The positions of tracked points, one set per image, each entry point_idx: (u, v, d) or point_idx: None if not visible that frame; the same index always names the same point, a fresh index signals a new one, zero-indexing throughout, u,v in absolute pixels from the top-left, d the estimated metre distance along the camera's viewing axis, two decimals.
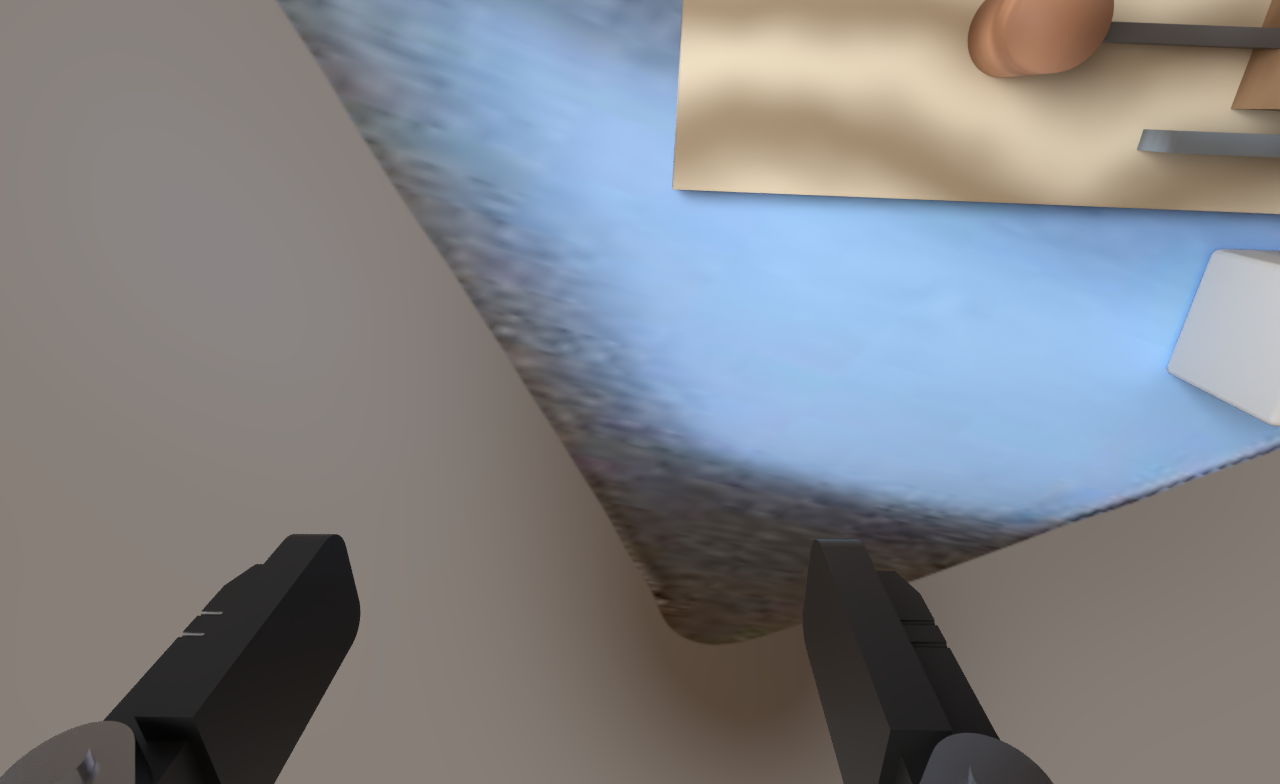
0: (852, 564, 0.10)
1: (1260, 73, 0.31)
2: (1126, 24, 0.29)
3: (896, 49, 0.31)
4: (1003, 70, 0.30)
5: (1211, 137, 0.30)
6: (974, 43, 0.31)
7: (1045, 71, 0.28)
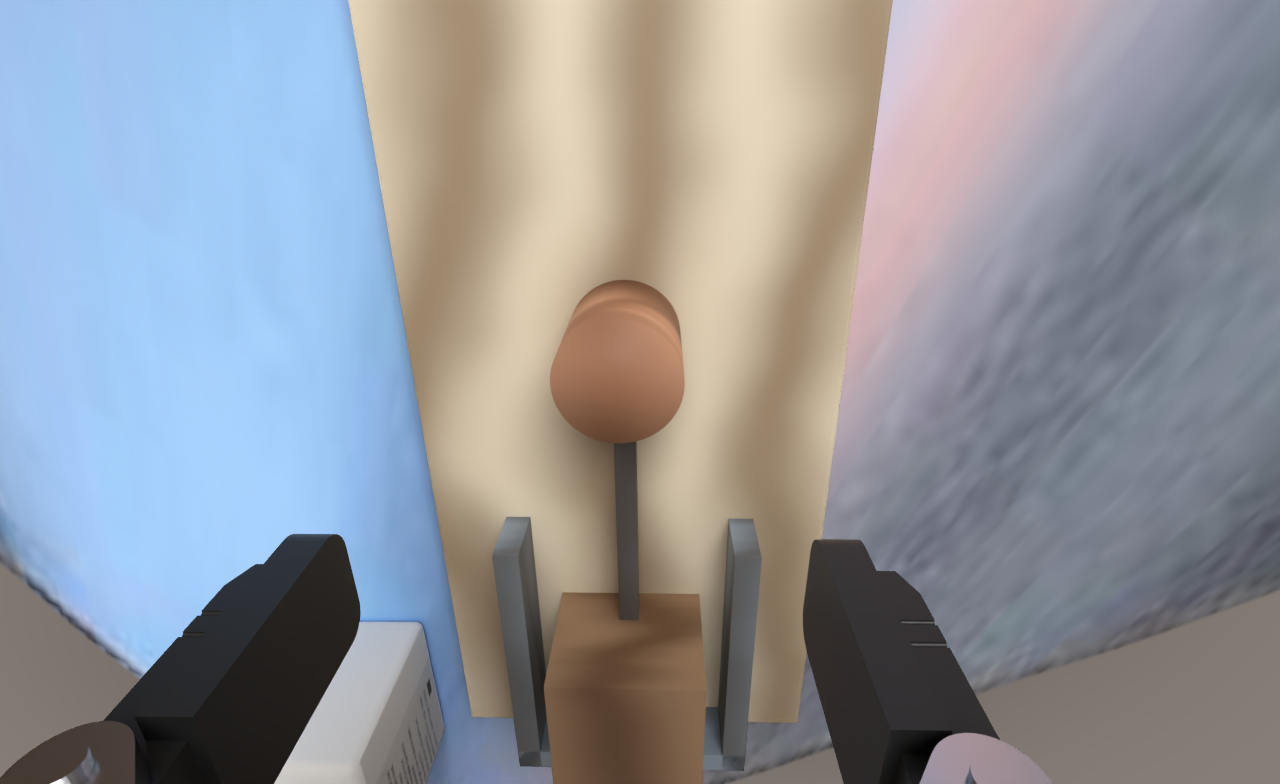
0: (852, 564, 0.10)
1: (595, 608, 0.27)
2: (633, 464, 0.23)
3: (592, 179, 0.21)
4: None
5: (515, 588, 0.25)
6: (604, 288, 0.21)
7: (551, 377, 0.19)
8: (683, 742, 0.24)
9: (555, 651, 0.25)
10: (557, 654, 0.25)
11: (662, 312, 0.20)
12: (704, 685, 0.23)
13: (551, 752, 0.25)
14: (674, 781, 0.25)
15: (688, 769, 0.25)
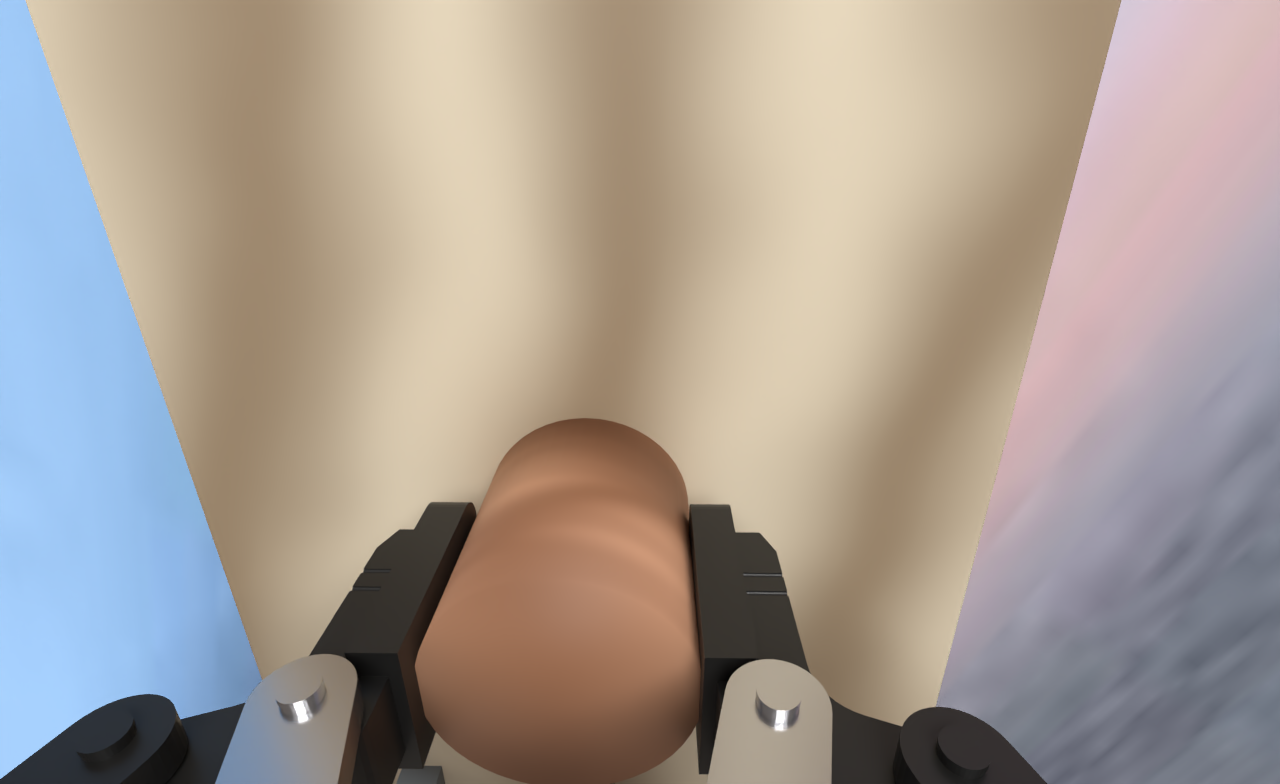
0: (714, 524, 0.10)
1: None
2: None
3: (520, 240, 0.11)
4: None
5: None
6: (547, 440, 0.11)
7: None
8: None
9: None
10: None
11: (656, 506, 0.10)
12: None
13: None
14: None
15: None
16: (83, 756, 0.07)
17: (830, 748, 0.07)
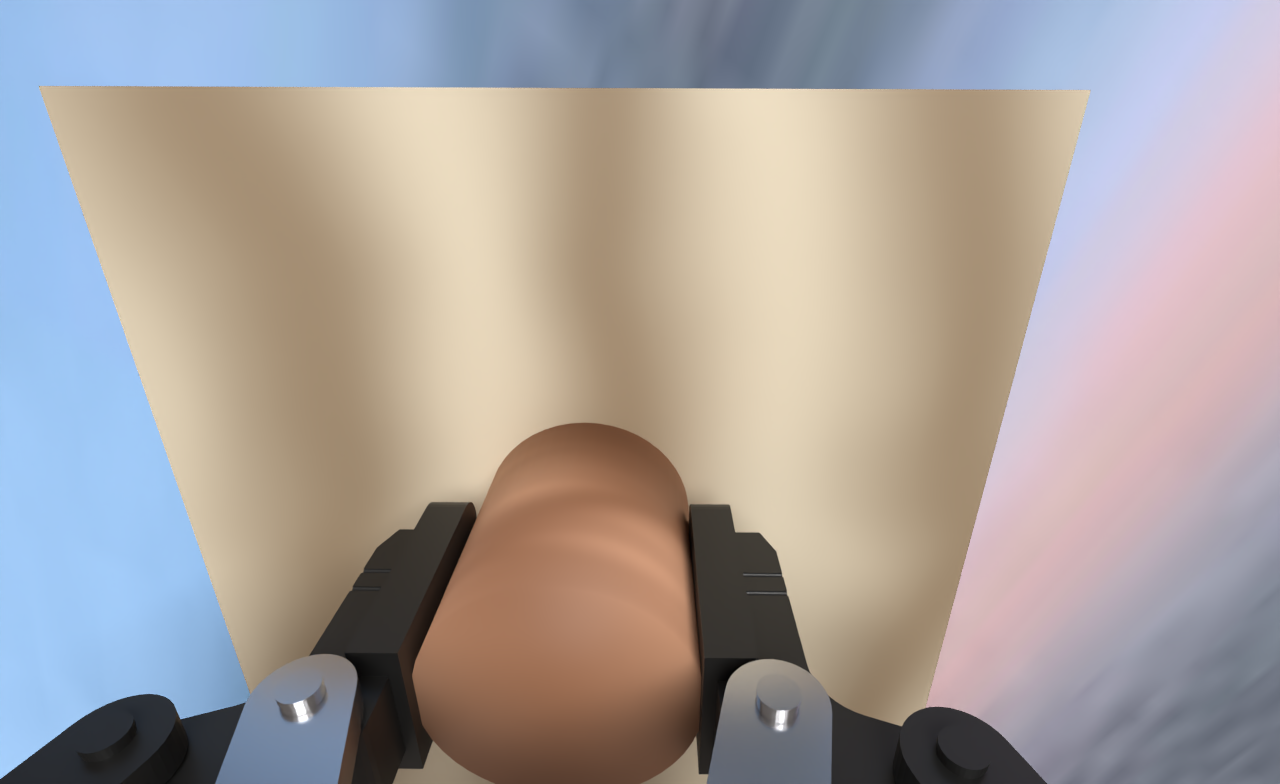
0: (714, 524, 0.10)
1: None
2: None
3: None
4: (467, 540, 0.11)
5: None
6: (545, 445, 0.11)
7: None
8: None
9: None
10: None
11: (655, 511, 0.10)
12: None
13: None
14: None
15: None
16: (83, 756, 0.07)
17: (830, 748, 0.07)
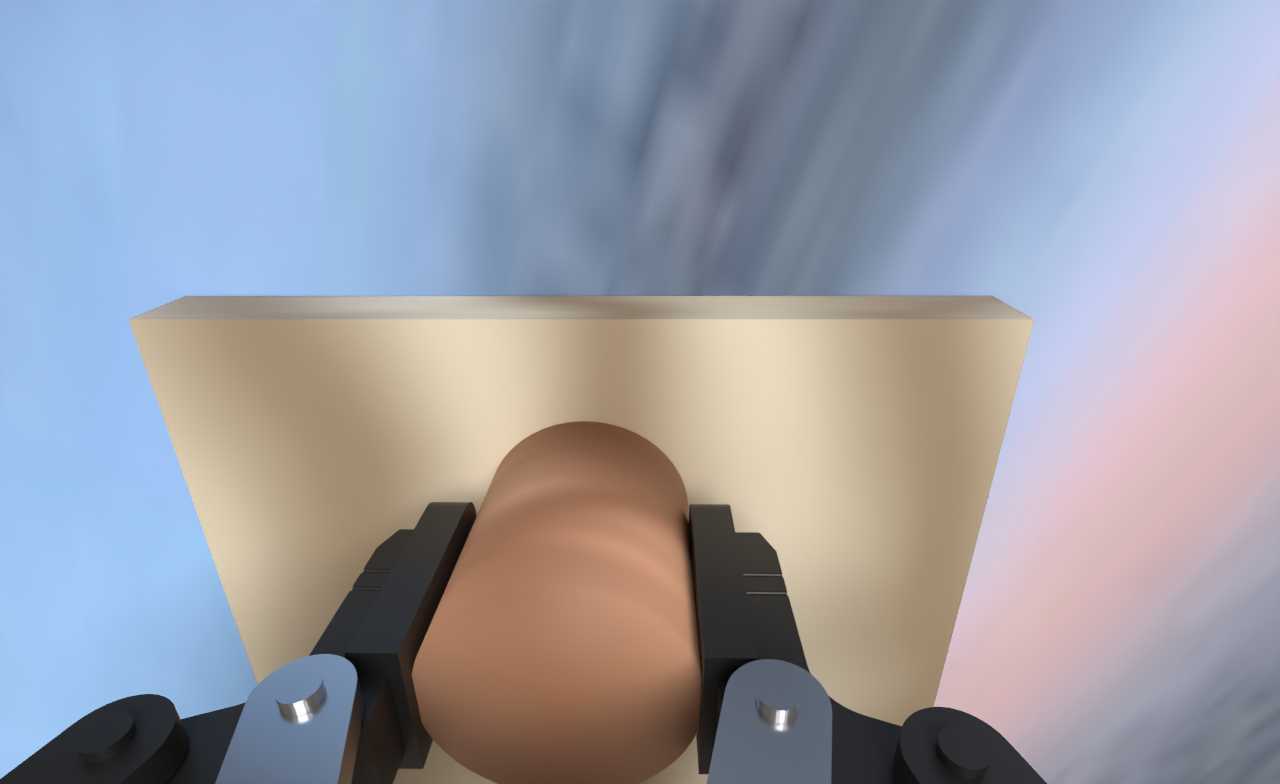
0: (714, 524, 0.10)
1: None
2: None
3: None
4: None
5: None
6: (544, 444, 0.11)
7: None
8: None
9: None
10: None
11: (655, 509, 0.10)
12: None
13: None
14: None
15: None
16: (83, 756, 0.07)
17: (830, 748, 0.07)
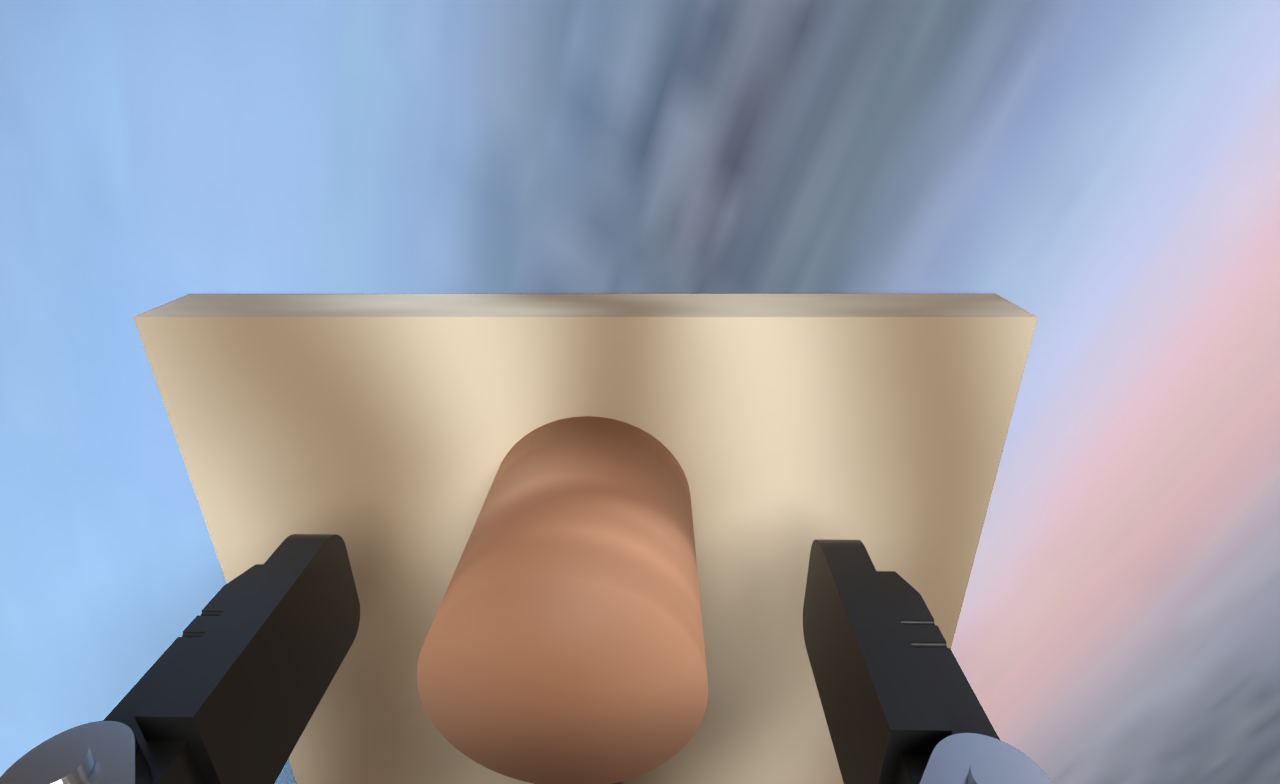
0: (852, 564, 0.10)
1: None
2: None
3: None
4: None
5: None
6: (547, 439, 0.11)
7: (419, 682, 0.09)
8: None
9: None
10: None
11: (657, 502, 0.10)
12: None
13: None
14: None
15: None
16: None
17: None
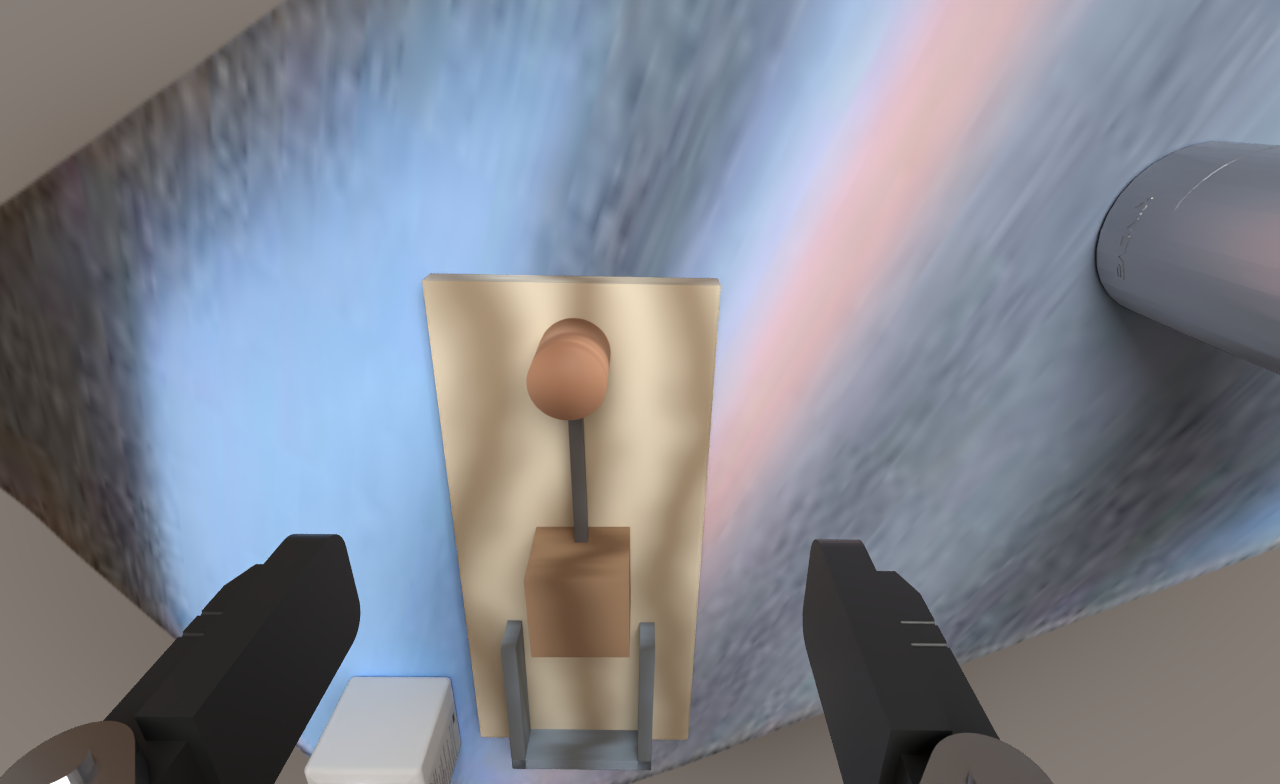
0: (852, 564, 0.10)
1: (559, 536, 0.40)
2: (581, 436, 0.36)
3: (560, 454, 0.38)
4: None
5: (513, 666, 0.42)
6: (560, 324, 0.34)
7: (527, 380, 0.31)
8: (615, 617, 0.37)
9: (531, 560, 0.38)
10: (532, 562, 0.38)
11: (595, 340, 0.33)
12: (627, 577, 0.36)
13: (529, 627, 0.38)
14: (610, 646, 0.38)
15: (619, 637, 0.38)
16: None
17: None
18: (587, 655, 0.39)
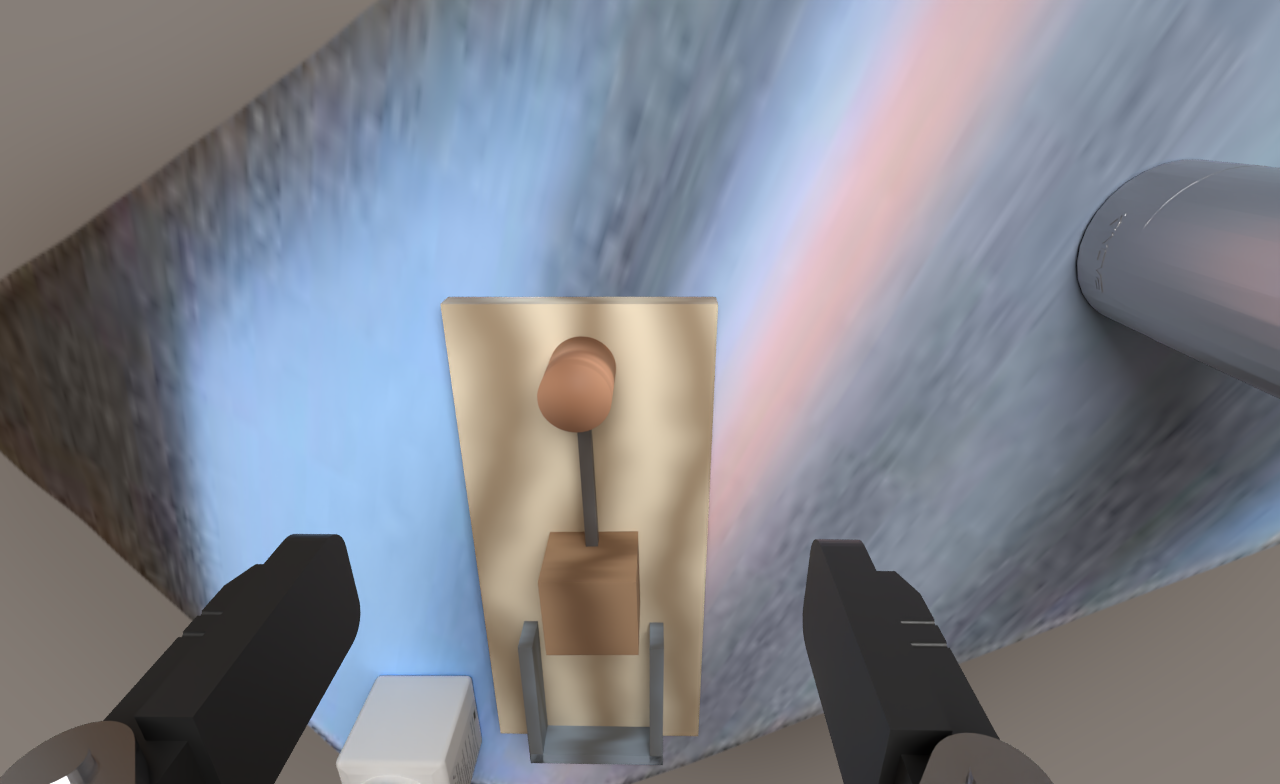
0: (852, 564, 0.10)
1: (571, 540, 0.42)
2: (589, 446, 0.38)
3: (571, 464, 0.41)
4: None
5: (530, 664, 0.45)
6: (568, 342, 0.37)
7: (537, 396, 0.34)
8: (624, 617, 0.40)
9: (545, 564, 0.40)
10: (546, 565, 0.40)
11: (601, 357, 0.35)
12: (635, 579, 0.39)
13: (543, 626, 0.40)
14: (620, 645, 0.41)
15: (628, 636, 0.40)
16: None
17: None
18: (599, 653, 0.41)
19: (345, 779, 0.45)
